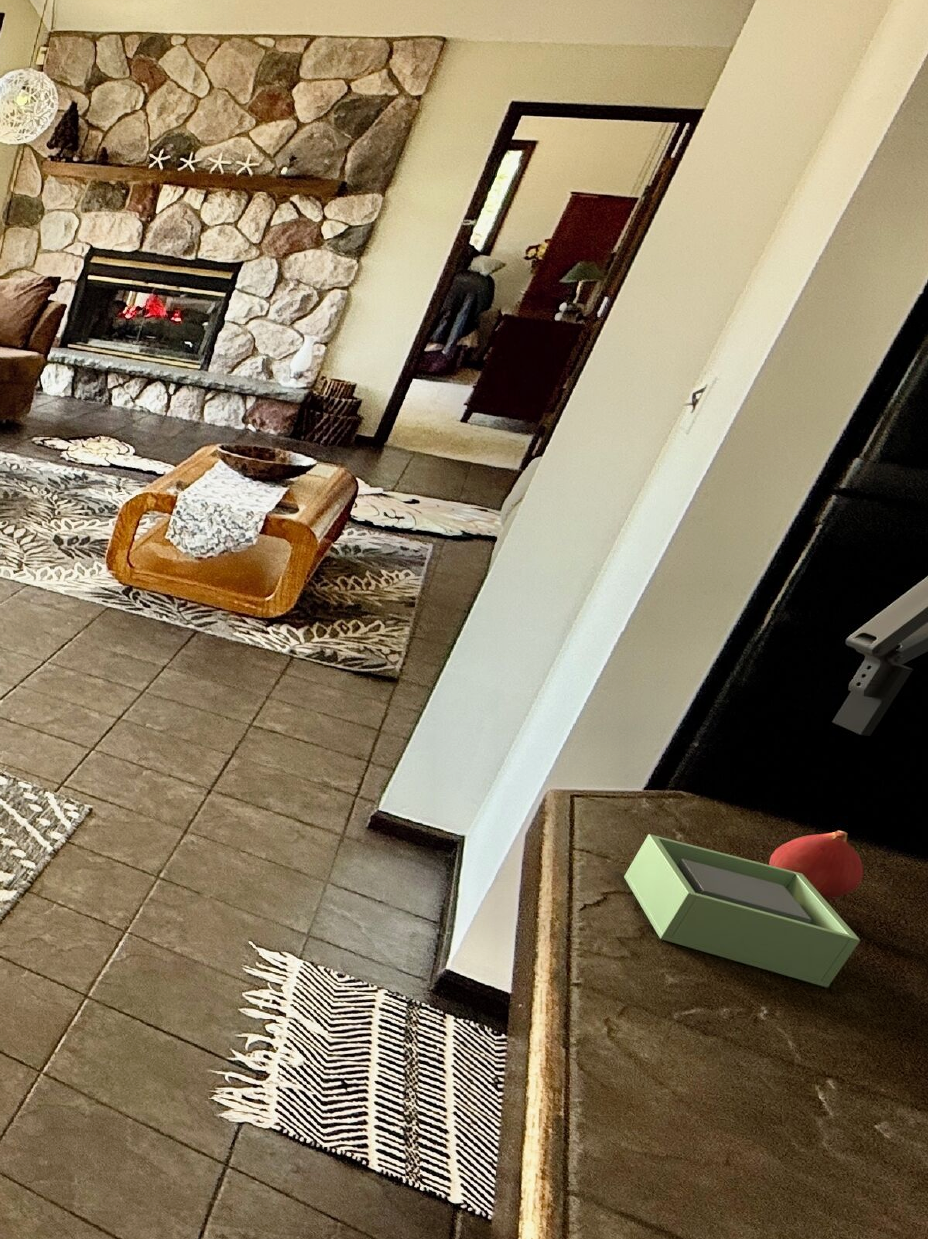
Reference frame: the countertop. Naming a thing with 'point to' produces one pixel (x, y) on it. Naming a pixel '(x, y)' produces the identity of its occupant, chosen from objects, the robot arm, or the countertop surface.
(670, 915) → the crate
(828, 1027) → the countertop surface
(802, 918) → the block
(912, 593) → the robot arm
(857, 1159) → the countertop surface
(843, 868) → the onion
